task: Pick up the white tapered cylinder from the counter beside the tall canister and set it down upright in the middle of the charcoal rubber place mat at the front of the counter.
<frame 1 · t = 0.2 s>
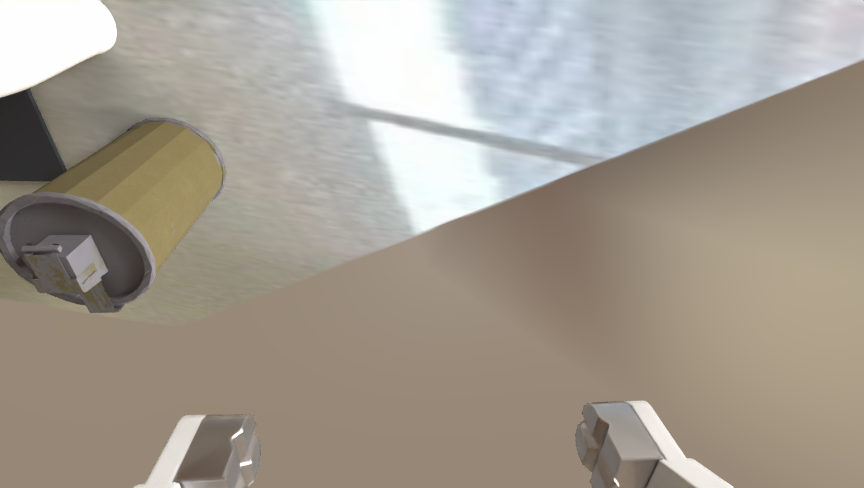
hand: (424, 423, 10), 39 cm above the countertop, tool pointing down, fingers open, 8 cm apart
canister: (177, 165, 46), on the countertop
white tapered cylinder: (88, 20, 38), on the countertop
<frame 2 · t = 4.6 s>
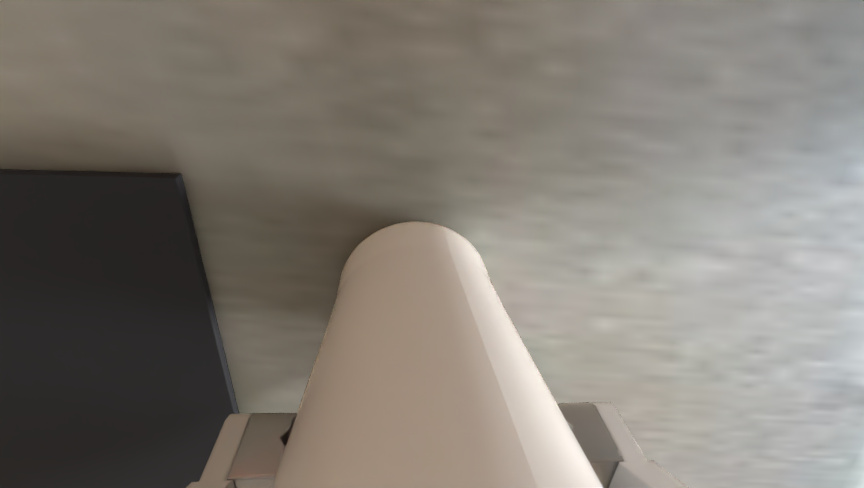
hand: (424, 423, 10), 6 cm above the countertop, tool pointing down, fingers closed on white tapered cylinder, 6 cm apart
white tapered cylinder: (413, 276, 16), on the countertop, touching gripper
place mat: (45, 402, 17), on the countertop
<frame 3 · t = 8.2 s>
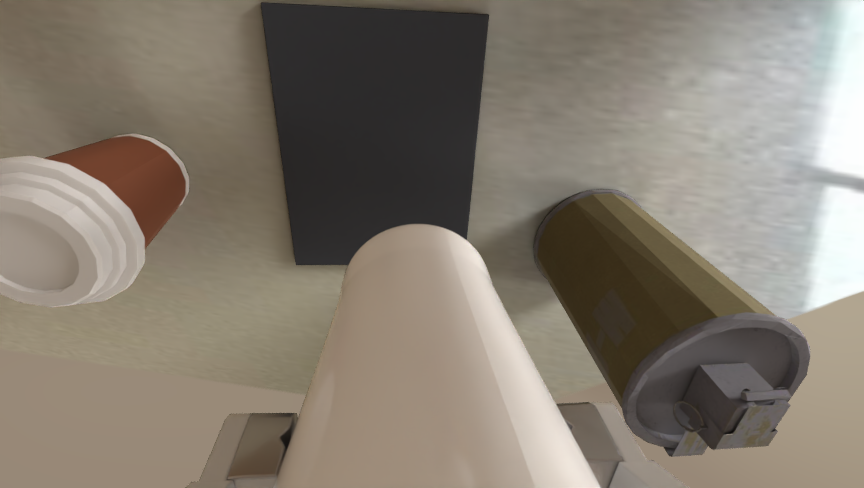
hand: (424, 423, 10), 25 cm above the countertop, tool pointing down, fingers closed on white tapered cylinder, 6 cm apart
canister: (587, 241, 39), on the countertop
white tapered cylinder: (415, 278, 16), point 19 cm above the countertop, touching gripper
coffee cup: (146, 174, 32), on the countertop
place mat: (380, 154, 33), on the countertop
when the fingers open (7 cm above the countertop, at t = 11.7 s): white tapered cylinder stays where it is, resting on place mat.
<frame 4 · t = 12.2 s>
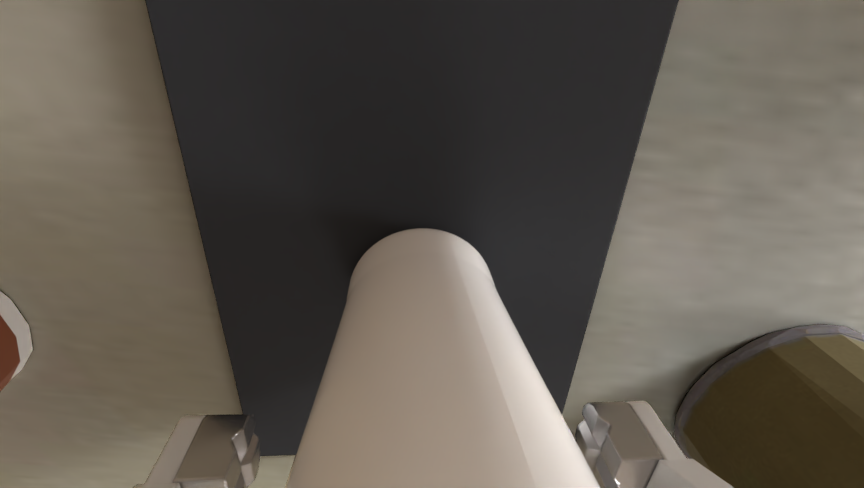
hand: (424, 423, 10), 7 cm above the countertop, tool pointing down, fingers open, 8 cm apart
canister: (766, 400, 22), on the countertop
white tapered cylinder: (420, 280, 16), resting on place mat
place mat: (413, 276, 16), on the countertop
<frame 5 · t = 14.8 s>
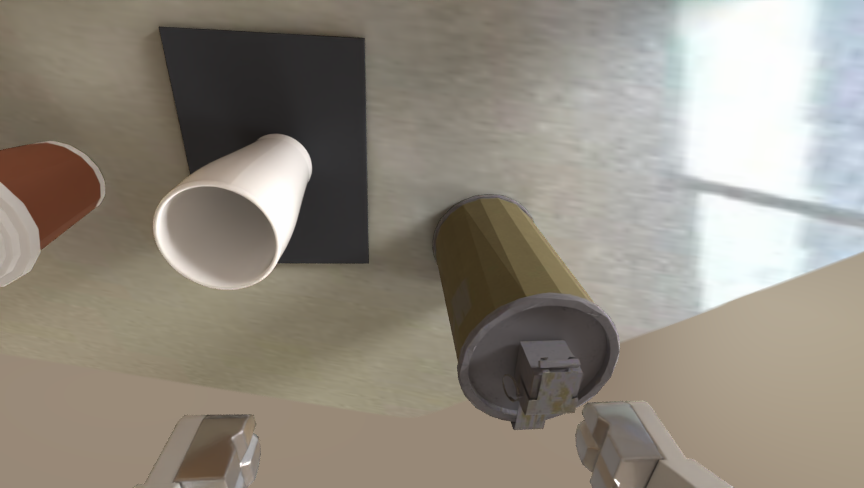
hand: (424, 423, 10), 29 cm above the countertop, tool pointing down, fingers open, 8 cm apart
canister: (483, 243, 42), on the countertop
white tapered cylinder: (282, 162, 36), resting on place mat
coffee cup: (65, 177, 35), on the countertop
place mat: (279, 161, 36), on the countertop
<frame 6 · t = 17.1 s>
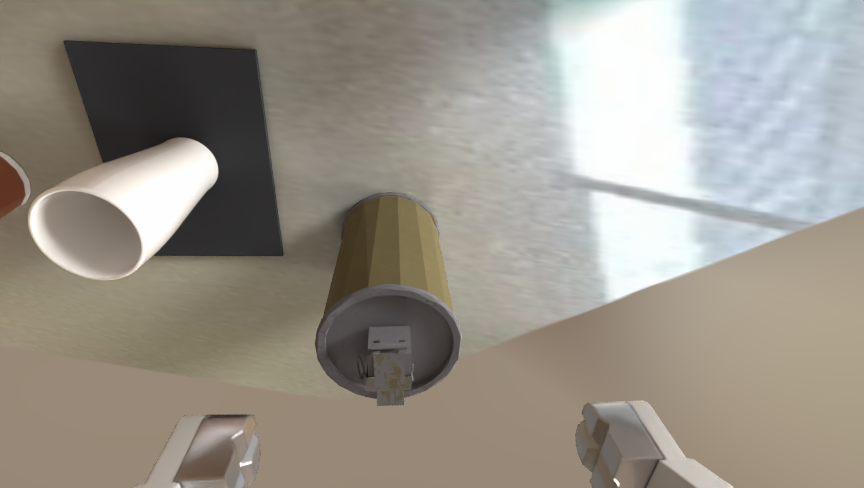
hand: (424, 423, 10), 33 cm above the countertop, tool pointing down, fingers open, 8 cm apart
canister: (391, 238, 45), on the countertop
white tapered cylinder: (191, 163, 39), resting on place mat
place mat: (189, 162, 39), on the countertop
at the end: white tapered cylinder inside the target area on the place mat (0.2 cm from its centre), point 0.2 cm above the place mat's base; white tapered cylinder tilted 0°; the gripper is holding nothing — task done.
